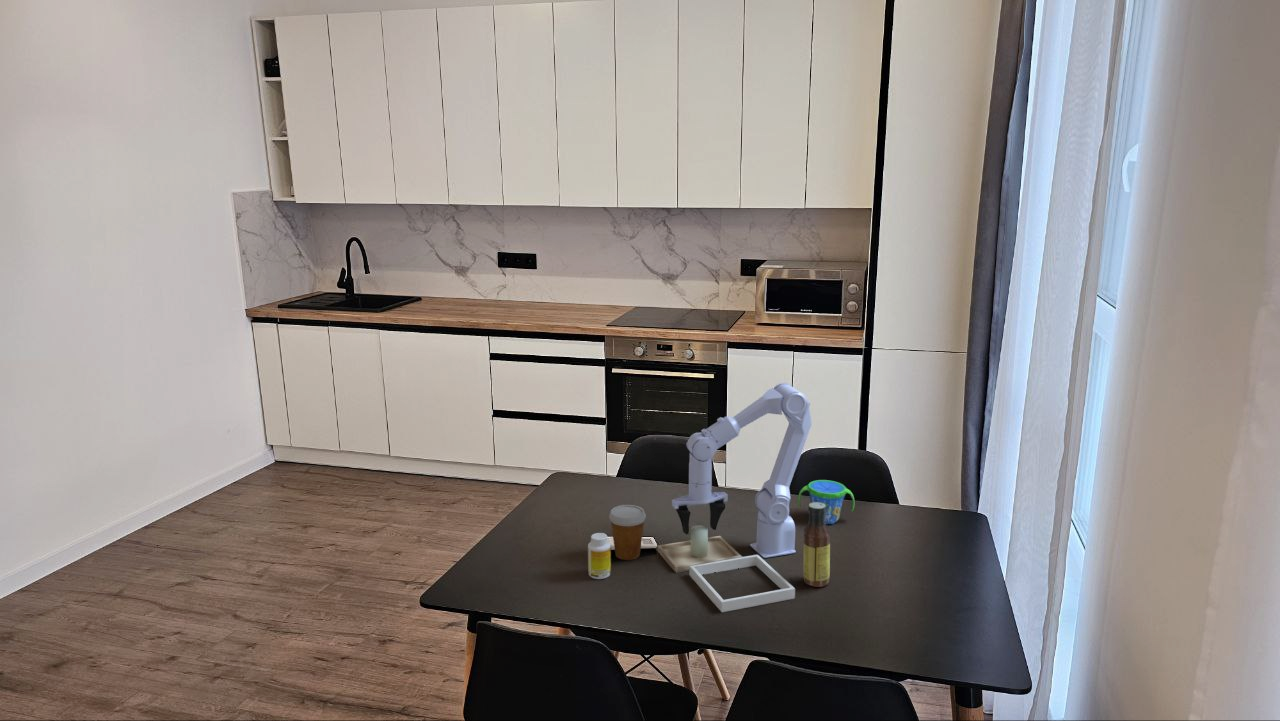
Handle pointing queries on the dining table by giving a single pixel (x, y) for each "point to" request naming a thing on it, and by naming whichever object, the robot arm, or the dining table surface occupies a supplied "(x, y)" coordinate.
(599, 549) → the supplement bottle
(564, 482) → the dining table surface
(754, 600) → the white hollow square frame
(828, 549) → the sauce bottle
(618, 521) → the disposable coffee cup
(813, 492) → the snack cup
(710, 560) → the birch tray
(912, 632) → the dining table surface
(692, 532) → the sage cylinder
